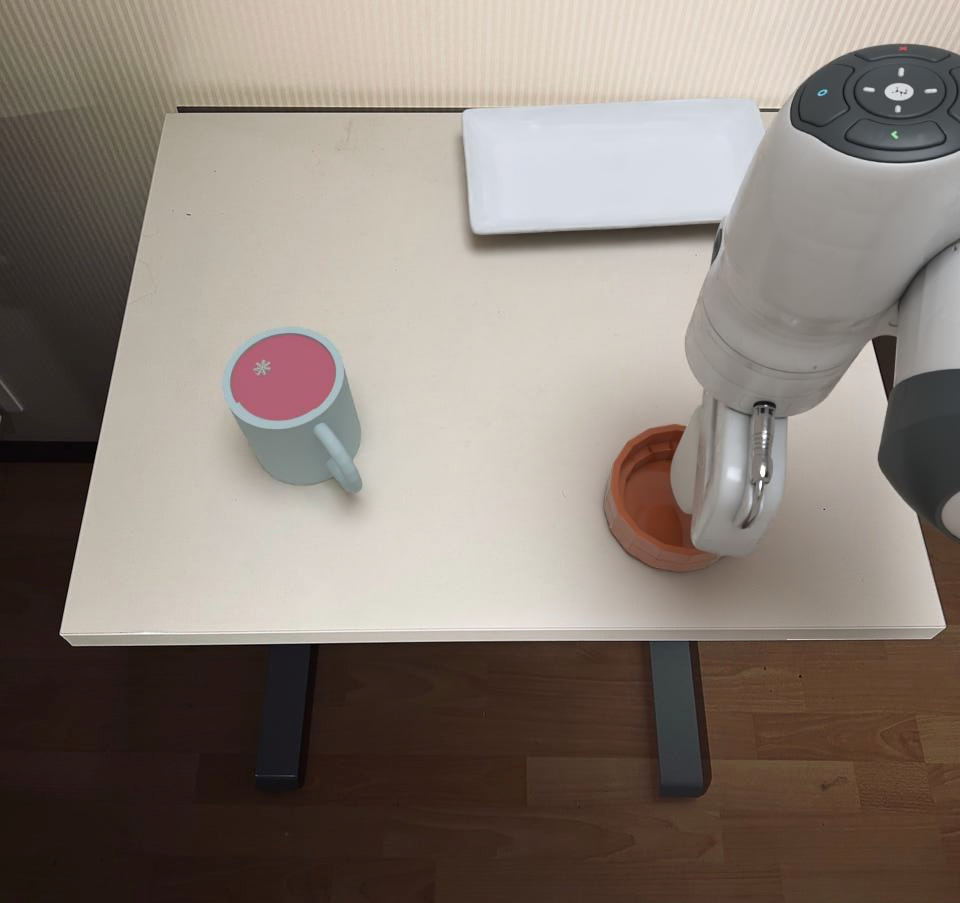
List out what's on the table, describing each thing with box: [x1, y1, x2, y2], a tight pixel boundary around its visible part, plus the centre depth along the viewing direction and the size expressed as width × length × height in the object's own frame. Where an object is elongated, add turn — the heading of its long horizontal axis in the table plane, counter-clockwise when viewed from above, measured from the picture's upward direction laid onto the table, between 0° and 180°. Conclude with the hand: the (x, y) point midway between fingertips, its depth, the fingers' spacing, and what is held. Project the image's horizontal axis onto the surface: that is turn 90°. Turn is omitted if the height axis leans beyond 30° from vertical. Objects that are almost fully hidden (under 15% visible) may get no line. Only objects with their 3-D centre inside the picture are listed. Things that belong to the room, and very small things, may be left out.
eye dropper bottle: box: [670, 404, 702, 514], centre depth 56 cm, size 4×6×12 cm
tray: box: [460, 97, 767, 236], centre depth 82 cm, size 17×32×4 cm, turn 94°
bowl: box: [603, 423, 724, 573], centre depth 65 cm, size 11×11×4 cm
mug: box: [221, 326, 363, 494], centre depth 64 cm, size 14×9×10 cm
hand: (709, 449), depth 57 cm, fingers closed on eye dropper bottle, 5 cm apart
